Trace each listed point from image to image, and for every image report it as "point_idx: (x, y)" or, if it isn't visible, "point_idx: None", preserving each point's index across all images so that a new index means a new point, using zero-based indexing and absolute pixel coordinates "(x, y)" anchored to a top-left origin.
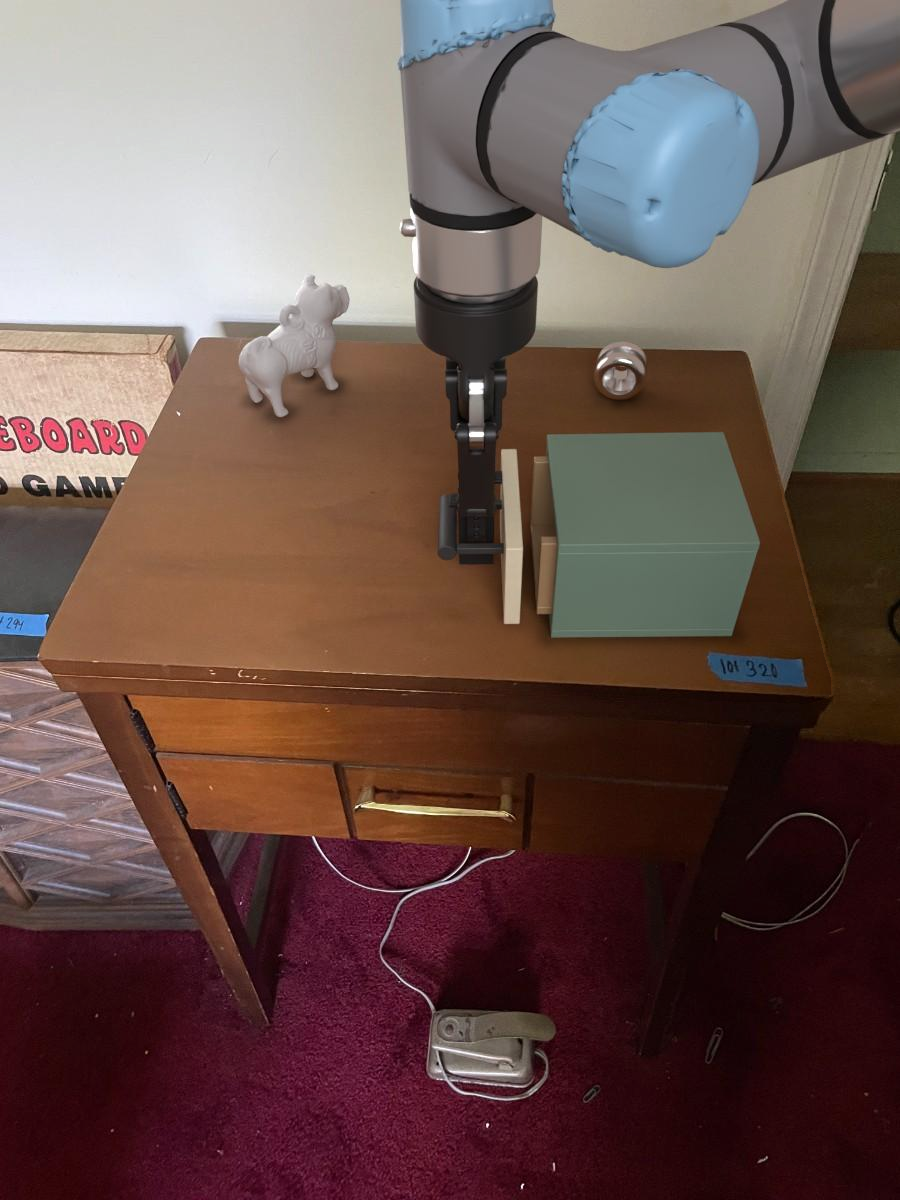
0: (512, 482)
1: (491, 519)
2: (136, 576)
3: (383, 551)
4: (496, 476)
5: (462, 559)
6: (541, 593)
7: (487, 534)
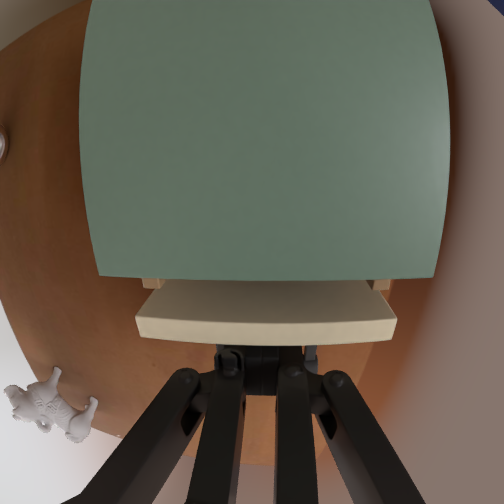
0: (227, 332)
1: None
2: (259, 455)
3: None
4: (231, 365)
5: None
6: None
7: None
